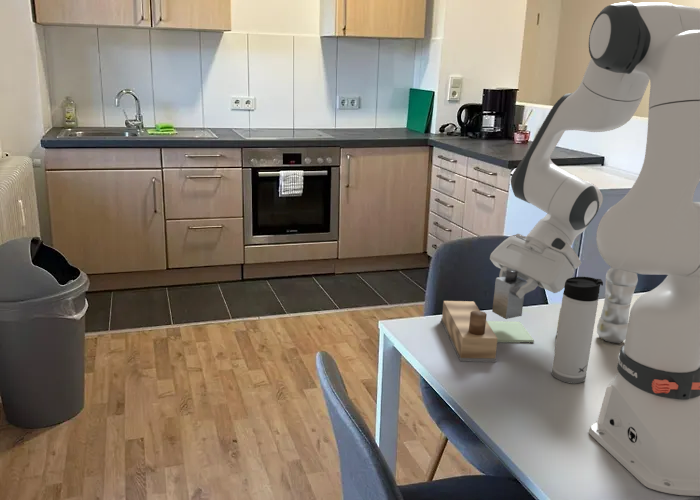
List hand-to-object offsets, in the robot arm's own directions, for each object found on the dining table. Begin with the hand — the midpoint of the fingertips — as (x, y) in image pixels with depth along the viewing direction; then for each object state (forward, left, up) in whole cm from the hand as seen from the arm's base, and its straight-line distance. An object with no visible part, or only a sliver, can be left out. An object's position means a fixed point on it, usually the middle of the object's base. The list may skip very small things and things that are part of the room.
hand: (507, 291), depth 139 cm
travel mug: (-20, -8, -10) cm, 23 cm away
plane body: (-4, +9, -10) cm, 14 cm away
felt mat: (0, -1, -10) cm, 10 cm away
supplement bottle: (-1, -15, -10) cm, 18 cm away
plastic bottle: (-3, -24, -10) cm, 26 cm away
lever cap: (0, -1, -5) cm, 5 cm away
